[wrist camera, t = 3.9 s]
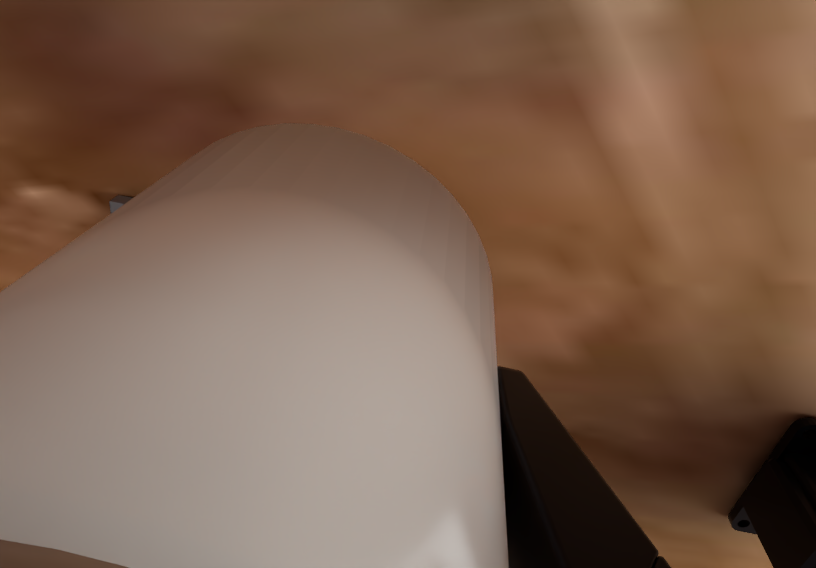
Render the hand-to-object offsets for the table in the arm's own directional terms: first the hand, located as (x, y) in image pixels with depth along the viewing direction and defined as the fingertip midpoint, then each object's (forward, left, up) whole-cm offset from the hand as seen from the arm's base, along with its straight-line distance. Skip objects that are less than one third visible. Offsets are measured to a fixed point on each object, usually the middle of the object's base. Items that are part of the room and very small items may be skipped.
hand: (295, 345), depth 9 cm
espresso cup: (0, 0, -1) cm, 1 cm away
